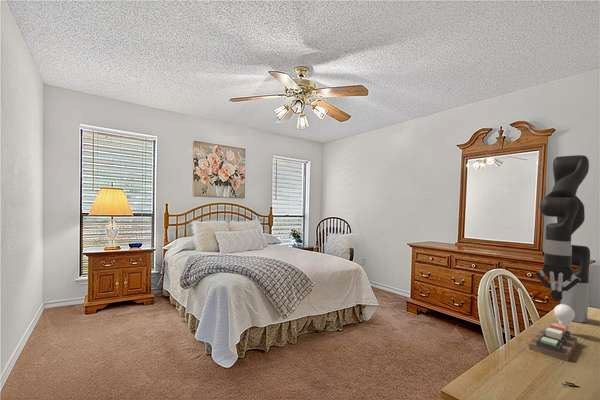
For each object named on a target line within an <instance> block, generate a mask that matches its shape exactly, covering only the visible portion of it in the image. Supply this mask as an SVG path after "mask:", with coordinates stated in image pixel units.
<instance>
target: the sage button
mask: <svg viewBox="0 0 600 400" xmlns="http://www.w3.org/2000/svg"><path fill="white" fill-rule="evenodd" d="M541 342H543V343H546V344H550V345H553V346H556V347H557V346H558V341H557V340H554V339H550V338H547V337H542V339H541Z"/></svg>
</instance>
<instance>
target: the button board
mask: <svg viewBox="0 0 600 400" xmlns="http://www.w3.org/2000/svg"><path fill="white" fill-rule="evenodd" d="M549 328H550V326H549ZM542 337H547V338H550V339H554V340H557V341H558V346H557V347H556V346H553V345H550V344H546V343H543V342H541V339H542ZM577 345H578V337H574V336H572V335H571V331H569V330H568V331H566V333H565V334H563V337H562V338H561V340H560V339H556V338H552V337H549V336H546V328H542V329H541V330H540V331H539V332H538V333H537V334H536V335H535V336H534V337H533V339H531V341H530V342H529V343H528V350H531V351H534V352H538V353H541V354H544V355H547V356H551V357H554V358H557V359H560V360H563V361H566V362H568V361H569V359H570V357H571V356H572V354H573V352H574V350H575V348H576V346H577Z"/></svg>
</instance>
